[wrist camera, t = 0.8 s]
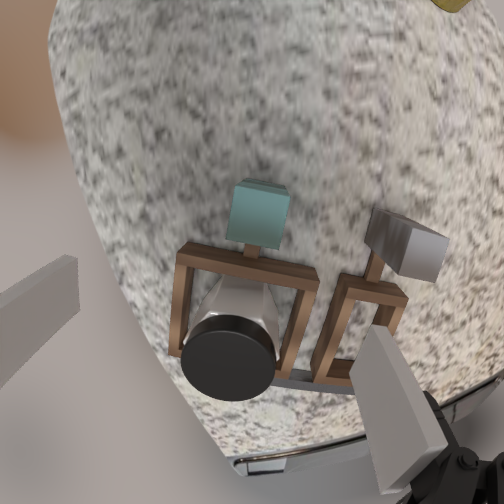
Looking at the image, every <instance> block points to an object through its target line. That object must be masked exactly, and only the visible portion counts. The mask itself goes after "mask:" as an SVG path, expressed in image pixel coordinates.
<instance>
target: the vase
mask: <svg viewBox="0 0 504 504" xmlns="http://www.w3.org/2000/svg"><path fill="white" fill-rule="evenodd" d="M432 1H433V2H434V3H435V4H436V5H438V6H439V7H440V8H442V9H444V10H446V11H448V12H458V11H459V10H460V9H461V8H462V7H463V6H465V5H466V4H467V3H468V2H470V1H471V0H432Z"/></svg>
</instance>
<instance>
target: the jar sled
mask: <svg viewBox="0 0 504 504" xmlns="http://www.w3.org/2000/svg"><path fill="white" fill-rule="evenodd" d="M290 198H291V197H290V195H289V193H288V191H287V189H286V188H285V186H282V185H278V184H273V183H268V182H263V181H258V180H253V179H248V178H246V179H245V180H243V181H242V182H240V183H239V184H237V185H236V186H235V190H234V195H233V200H232V206H231V211H230V217H229V222H228V228H227V234H226V239H227V240H232V241H237V242H242V243H245V248H244V253H239V252H234V251H229V250H224V249H219V248H215V247H210V246H205V245H200V244H195V243H190V242H187V243H186V244H185V245H184V246H183V247H182V248H181V249H180V250H179V251H178V252H177V254H176V263H175V273H174V283H173V294H172V305H171V318H170V332H169V349H168V355H171V356H174V357H178V358H181V353H182V350H183V347H184V344H183V341H184V339H185V337H186V334H187V326H188V316H189V307H190V299H191V291H192V282H193V275H194V268H197V269H202V270H206V271H211V272H216V273H221V274H225V275H230V276H235V277H240V278H245V279H250V280H255V281H259V282H264V283H269V284H275V285H280V286H285V287H290V288H295V289H298V291H297V295H296V299H295V302H294V306H293V309H292V313H291V316H290V320H289V323H288V327H287V330H286V333H285V337H284V340H283V343H282V347H281V350H280V351H279V354H280V358H279V360H278V361H277V362H276V370H275V376H274V378H281V379H288V378H289V376H290V373H291V370H292V367H293V364H294V362H295V359H296V356H297V353H298V350H299V347H300V344H301V341H302V338H303V335H304V332H305V329H306V326H307V323H308V319H309V316H310V313H311V310H312V307H313V303H314V300H315V297H316V294H317V290H318V287H319V283H320V281H319V278H318V275H317V273H316V270H315V268H313V267H308V266H303V265H298V264H293V263H288V262H283V261H278V260H273V259H268V258H263V257H259V251H260V246H261V247H266V248H271V249H276V250H279V247H280V243H281V238H282V234H283V229H284V225H285V221H286V216H287V211H288V207H289V202H290Z"/></svg>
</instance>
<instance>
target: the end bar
mask: <svg viewBox="0 0 504 504" xmlns="http://www.w3.org/2000/svg"><path fill="white" fill-rule="evenodd" d="M270 385H271V386H277V387H284V388H291V389H298V390H307V391H315V392H325V393H335V394H347V395H355V392H354V389H353V387H348V386H337V385H327V384H318V383H313V379H312V373H311V371H305V370H298V369H292V370H291V373H290V376H289V378H288V379H281V378H274V379H273V381H272V383H271V384H270Z"/></svg>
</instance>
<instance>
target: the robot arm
mask: <svg viewBox="0 0 504 504" xmlns="http://www.w3.org/2000/svg"><path fill="white" fill-rule="evenodd" d="M77 264H78V262H77V258H76V257H72V256H68V255H63V256H61V257H59V258H58V259H56V260H54V261H53V262H51V263H49V264H47V265H46V266H44V267H42V268H41V269H39V270H37V271H36V272H34V273H32V274H31V275H29V276H28V277H26V278H24V279H23V280H21V281H20V282H18V283H16V284H15V285H13V286H12V287H10V288H8V289H7V290H6V291H4V292H2V293H1V294H0V389H1V388H2V387H3V386H4V385H5V384H6V383H7V381H9V379H10V378H11V377H12V376H13V375H14V374H15V373H16V372H17V371H18V370H19V369H20V368H21V367H22V366H23V365H24V364H25V363H26V362H27V361H28V360H29V359H30V358H31V357H32V356H33V355H34V354H35V353H36V352H37V351H38V350H39V349H40V348H41V347H42V346H43V345H44V344H45V343H46V342H47V341H48V340H49V339H50V338H51V337H52V336H53V335H54V334H55V333H56V332H57V331H58V330H59V329H60V328H62V327H63V326H64V325H65V324H66V323H67V322H68V321H69V320H70V319H71V318H72V317H73V316H74V315H75V314H77V313H78V312H79V311H80V304H79V289H78V265H77ZM349 375H350V378H351V382H352V385H353V389H354V392H355V396H356V399H357V403H358V406H359V410H360V413H361V417H362V421H363V424H364V428H365V432H366V436H367V440H368V443H369V447H370V451H371V455H372V459H373V464H374V468H375V472H376V476H377V480H378V485H379V489H380V494H388V493H395V492H400V491H401V490H402V489H404V487H406V486H407V485H408V484H409V483H410V485H411V489H412V490H411V491H410V492H409V493H408V494H407V495H405V496H404V497H403V498H402V499H401V500H399V501H398V502H397V503H396V504H401V503H402V502H403V503H402V504H486V503H487V504H504V452H502V453H500V454H499V455H498V456H497V457H496V458H495V459H494V460H493V461H482V460H479V457H478V456H477V455H476V453H475V452H473V451H472V450H470V449H469V448H465V447H459V445H458V443H457V441H456V439H455V437H454V435H453V433H452V431H451V429H450V427H449V425H448V423H447V421H446V419H444V418H445V417H444V415H443V413H442V411H440V410H441V409H440V407H439V405H438V403H437V402H436V400H435V399H434V398H433V397H432V396H431V395H430V394H429V393H428V392H427V391H422V390H421V388H420V386H419V384H418V382H417V380H416V378H415V376H414V374H413V373H412V371H411V369H410V367H409V365H408V363H407V362H406V360H405V358H404V356H403V354H402V353H401V351H400V349H399V347H398V346H397V344H396V342H395V340H394V339H393V337H392V335H391V334H390V332H389V330H388V328H387V327H385V326H379V325H373V324H371V327H370V329H369V331H368V333H367V336H366V338H365V340H364V342H363V345H362V347H361V349H360V351H359V353H358V355H357V357H356V360H355V362H354V364H353V366H352V368H351V370H350V372H349Z"/></svg>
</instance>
